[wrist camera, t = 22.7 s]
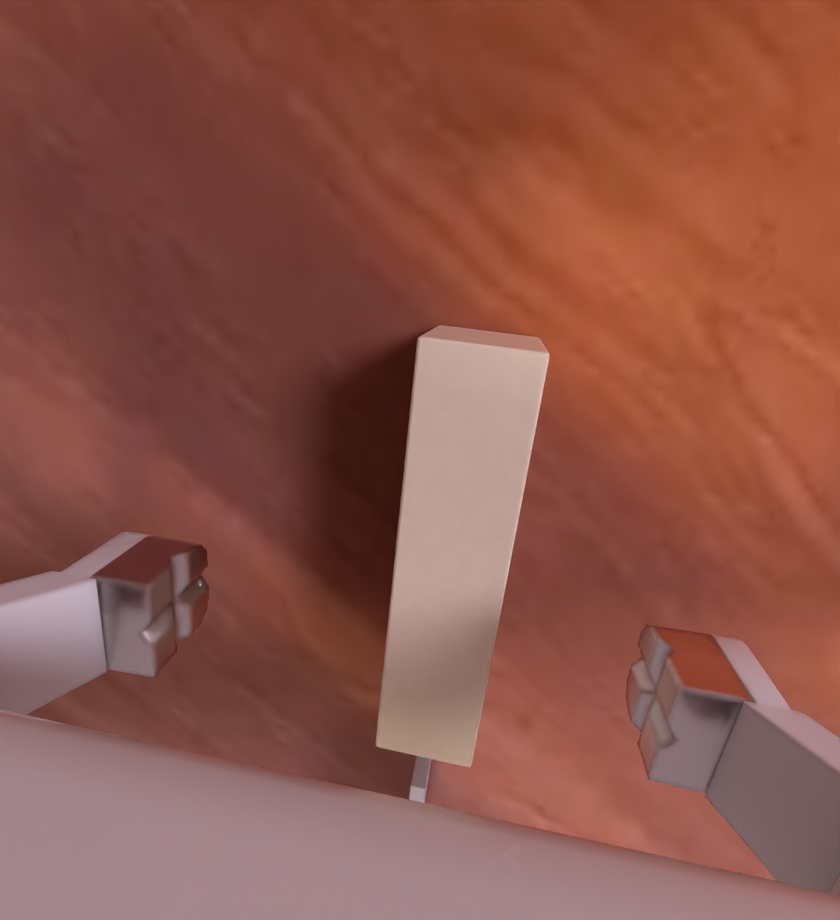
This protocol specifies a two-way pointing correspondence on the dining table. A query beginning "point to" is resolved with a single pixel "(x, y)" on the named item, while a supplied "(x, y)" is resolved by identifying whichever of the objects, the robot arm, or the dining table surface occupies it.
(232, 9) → the dining table surface
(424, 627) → the butter knife
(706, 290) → the dining table surface
